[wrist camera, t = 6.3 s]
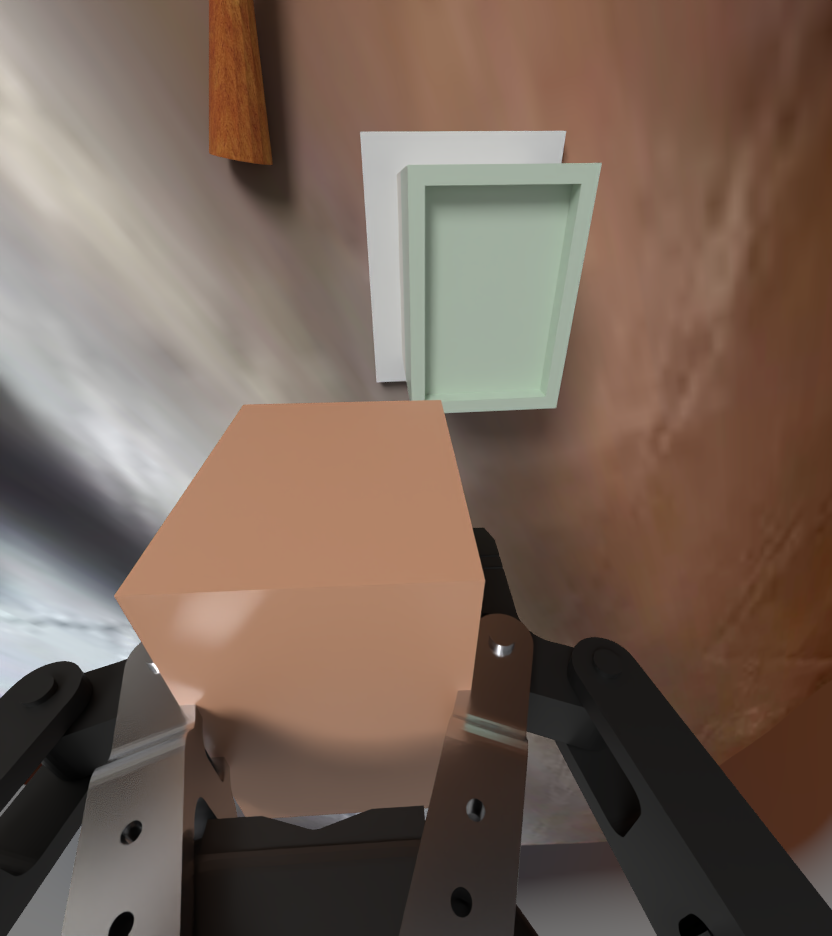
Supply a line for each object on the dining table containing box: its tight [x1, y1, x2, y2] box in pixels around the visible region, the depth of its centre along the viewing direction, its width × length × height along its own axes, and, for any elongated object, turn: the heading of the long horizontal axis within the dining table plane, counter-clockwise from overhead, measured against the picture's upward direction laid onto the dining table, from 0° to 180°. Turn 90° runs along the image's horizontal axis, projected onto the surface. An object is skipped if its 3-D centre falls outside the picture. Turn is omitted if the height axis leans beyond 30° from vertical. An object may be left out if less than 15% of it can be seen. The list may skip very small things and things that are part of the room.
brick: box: [114, 400, 485, 818], centre depth 10 cm, size 8×5×6 cm, turn 0°
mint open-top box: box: [360, 131, 602, 413], centre depth 25 cm, size 15×12×11 cm
